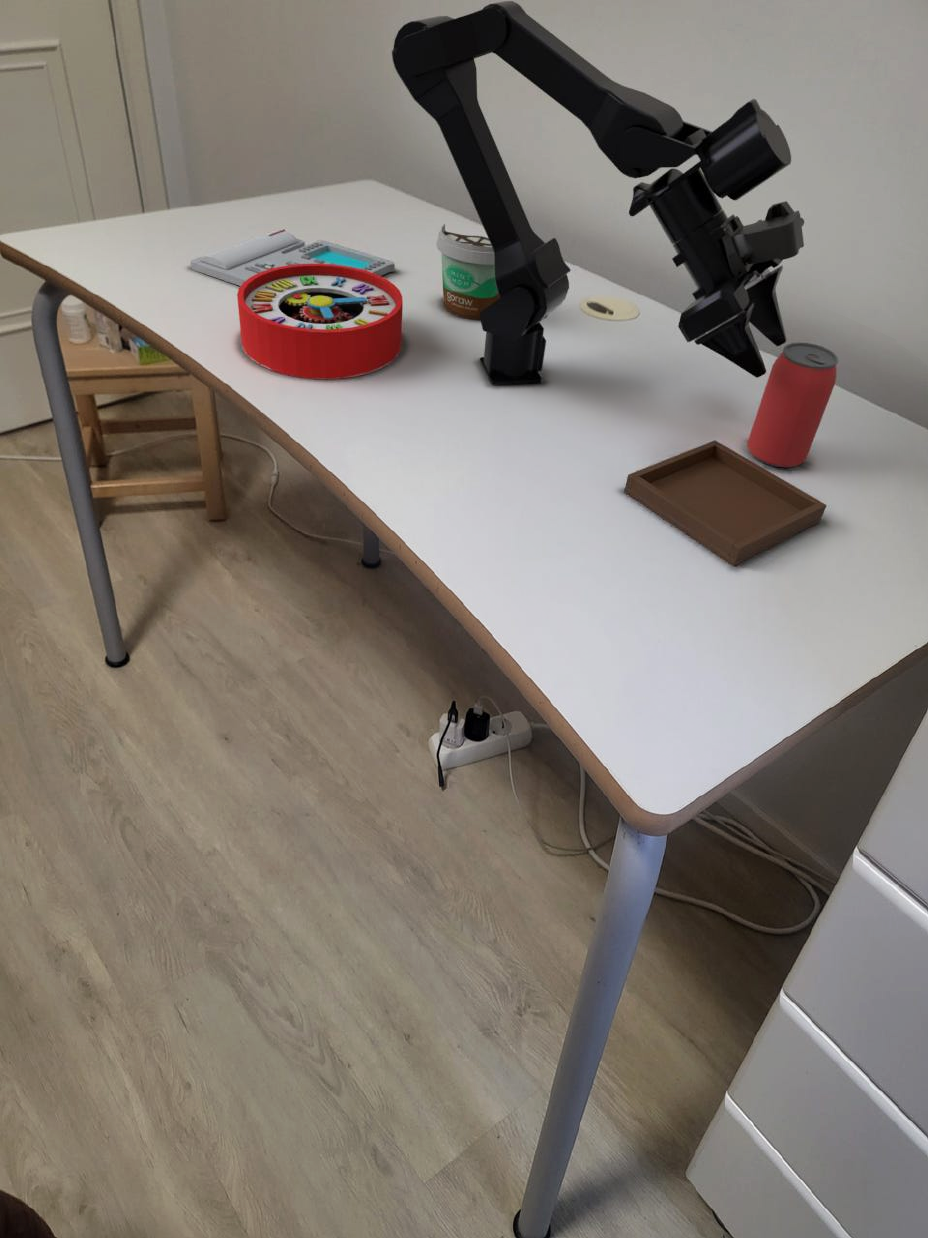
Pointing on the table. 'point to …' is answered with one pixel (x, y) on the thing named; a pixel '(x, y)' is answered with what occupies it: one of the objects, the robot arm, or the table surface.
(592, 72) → the robot arm
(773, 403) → the beer can
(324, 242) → the office telephone
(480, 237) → the food container
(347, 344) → the toy clock
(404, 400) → the table surface
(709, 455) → the tray
